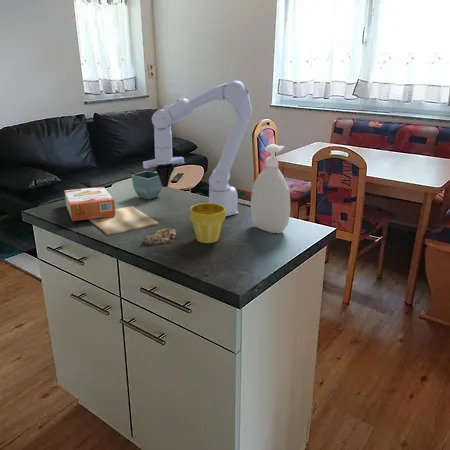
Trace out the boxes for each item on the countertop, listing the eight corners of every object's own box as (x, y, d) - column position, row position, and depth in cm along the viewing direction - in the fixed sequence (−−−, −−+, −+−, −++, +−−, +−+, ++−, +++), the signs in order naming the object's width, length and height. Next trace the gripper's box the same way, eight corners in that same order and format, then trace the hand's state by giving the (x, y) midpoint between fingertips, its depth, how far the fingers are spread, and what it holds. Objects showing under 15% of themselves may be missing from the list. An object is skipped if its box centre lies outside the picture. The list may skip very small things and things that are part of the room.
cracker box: (70, 203, 144) (63, 189, 162) (72, 221, 145) (65, 206, 164) (114, 198, 149) (103, 185, 167) (116, 216, 151) (105, 201, 169)
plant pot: (213, 248, 129) (214, 216, 126) (183, 241, 134) (182, 210, 131) (231, 236, 138) (231, 206, 134) (202, 230, 142) (202, 200, 139)
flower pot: (165, 196, 175) (164, 173, 172) (149, 202, 168) (148, 178, 165) (147, 192, 180) (146, 170, 176) (132, 198, 173) (130, 175, 169)
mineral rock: (164, 224, 141) (179, 224, 135) (168, 238, 142) (182, 239, 136) (135, 234, 134) (149, 234, 128) (138, 248, 135) (152, 249, 129)
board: (132, 207, 162) (131, 206, 162) (158, 224, 147) (158, 222, 147) (85, 216, 153) (84, 215, 153) (107, 235, 138) (107, 233, 137)
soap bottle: (296, 231, 142) (303, 145, 133) (281, 238, 137) (286, 149, 127) (260, 220, 152) (263, 138, 142) (244, 226, 146) (247, 142, 137)
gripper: (176, 142, 158) (177, 180, 163) (138, 146, 150) (140, 186, 155) (187, 145, 153) (187, 185, 158) (147, 150, 145) (149, 191, 150)
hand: (164, 186), depth 156 cm, fingers closed
